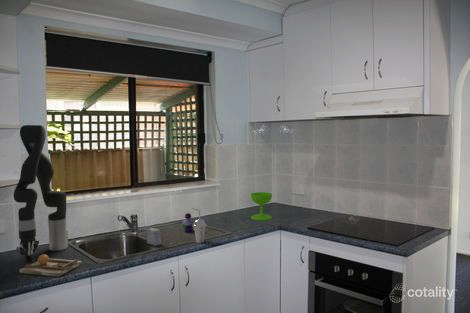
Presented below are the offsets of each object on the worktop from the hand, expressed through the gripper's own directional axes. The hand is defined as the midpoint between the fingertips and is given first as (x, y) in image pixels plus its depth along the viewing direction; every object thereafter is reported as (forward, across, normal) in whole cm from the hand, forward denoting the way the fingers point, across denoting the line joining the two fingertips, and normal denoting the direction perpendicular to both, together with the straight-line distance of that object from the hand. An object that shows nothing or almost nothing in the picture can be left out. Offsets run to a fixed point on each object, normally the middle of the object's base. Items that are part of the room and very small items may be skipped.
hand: (29, 262), depth 195 cm
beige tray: (+2, 0, +13) cm, 13 cm away
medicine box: (+2, -48, +44) cm, 66 cm away
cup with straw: (+2, -58, +69) cm, 91 cm away
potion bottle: (+2, -78, +54) cm, 95 cm away
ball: (-2, 0, +9) cm, 9 cm away
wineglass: (+2, -126, +94) cm, 158 cm away
